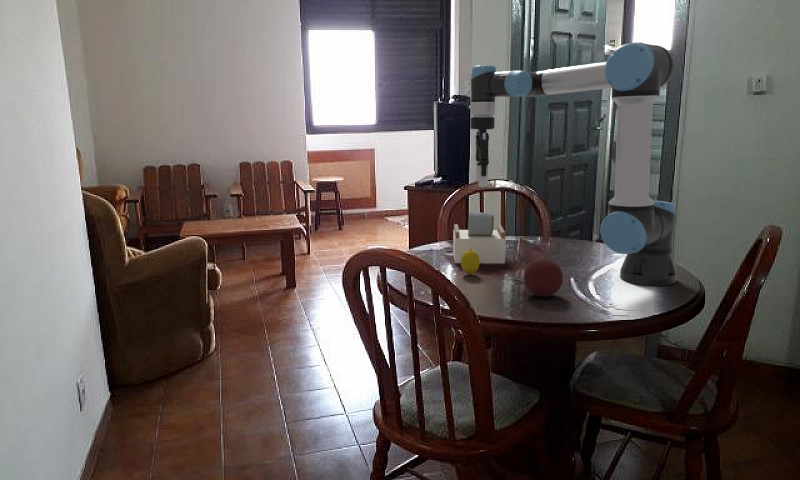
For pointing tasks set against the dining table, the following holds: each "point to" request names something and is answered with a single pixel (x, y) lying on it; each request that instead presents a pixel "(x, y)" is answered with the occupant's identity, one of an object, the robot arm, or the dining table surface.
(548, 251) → the dining table surface
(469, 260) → the lemon
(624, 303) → the dining table surface
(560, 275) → the decorative ball
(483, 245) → the display stand
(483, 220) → the ceramic mug
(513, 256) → the dining table surface
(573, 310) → the dining table surface
